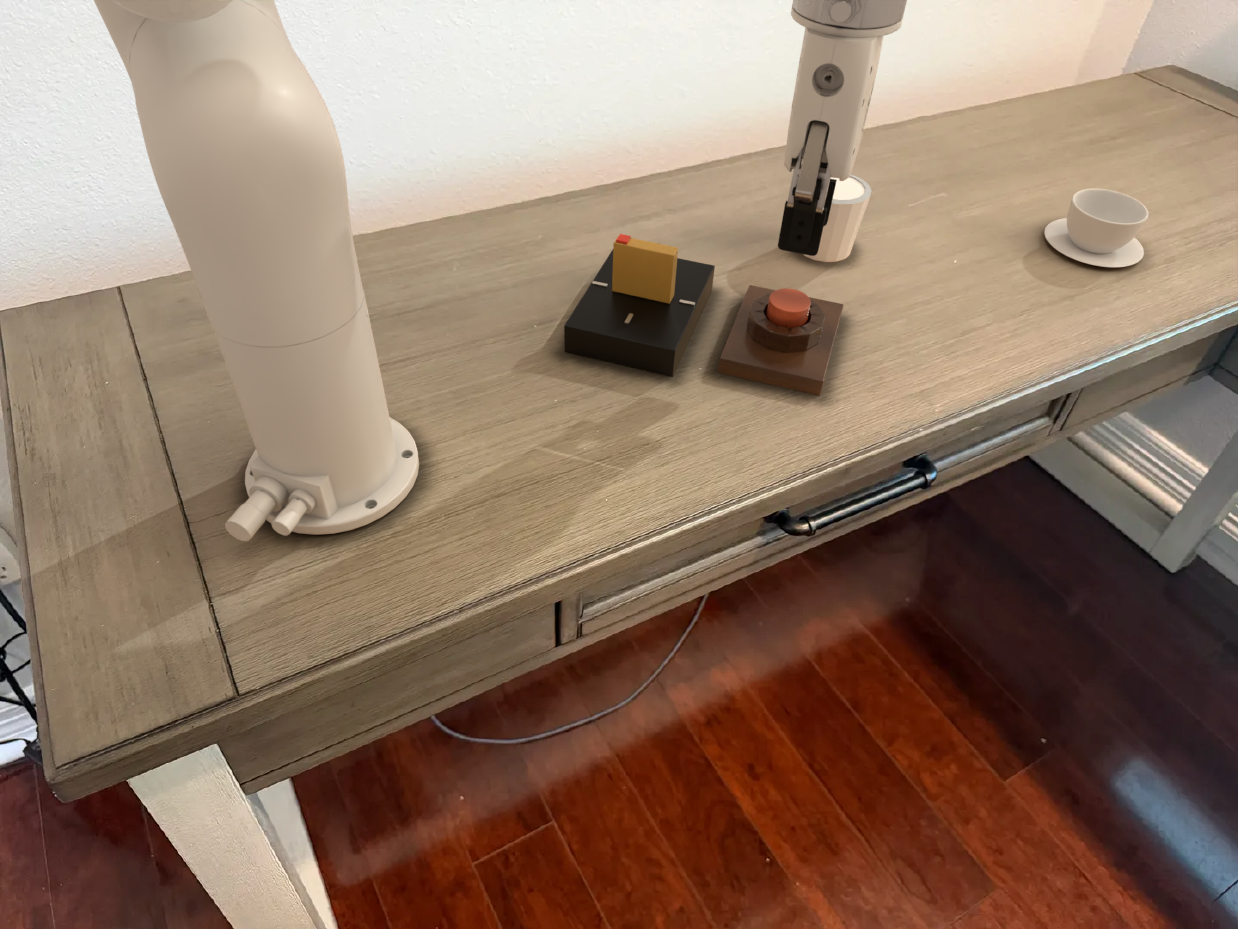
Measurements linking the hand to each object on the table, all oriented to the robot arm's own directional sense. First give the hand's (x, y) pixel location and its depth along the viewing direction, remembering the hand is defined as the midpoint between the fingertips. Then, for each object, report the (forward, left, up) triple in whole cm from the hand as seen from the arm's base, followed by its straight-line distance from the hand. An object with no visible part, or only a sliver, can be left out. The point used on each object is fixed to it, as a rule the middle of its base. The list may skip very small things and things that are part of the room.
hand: (803, 234), depth 73 cm
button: (0, 0, -8) cm, 8 cm away
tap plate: (-1, +13, -11) cm, 17 cm away
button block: (0, 0, -11) cm, 11 cm away
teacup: (+29, -28, -12) cm, 42 cm away
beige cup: (+18, -1, -12) cm, 21 cm away
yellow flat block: (-1, +13, -8) cm, 15 cm away
